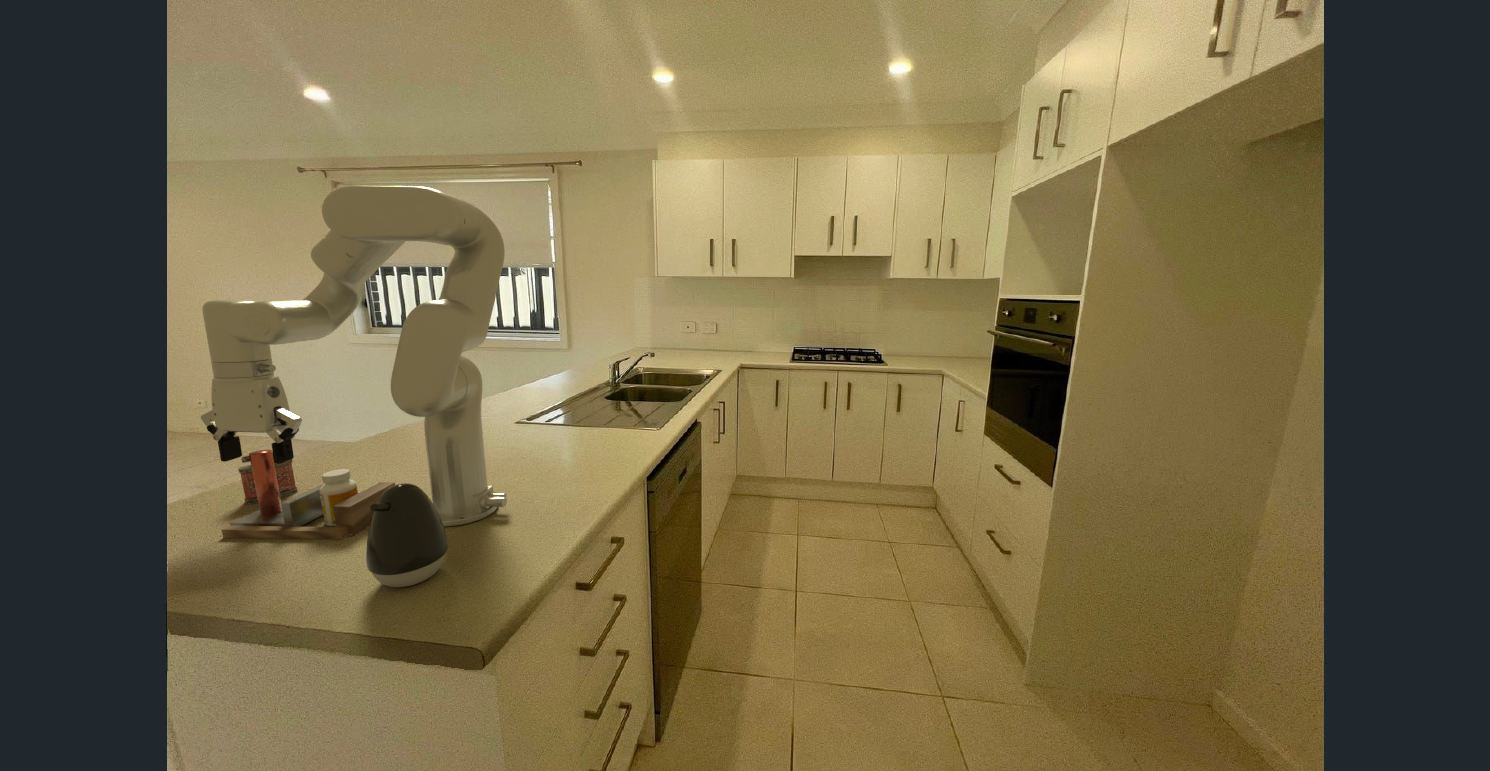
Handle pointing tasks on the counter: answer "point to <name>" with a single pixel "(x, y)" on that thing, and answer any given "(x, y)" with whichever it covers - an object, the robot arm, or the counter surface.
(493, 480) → the counter surface
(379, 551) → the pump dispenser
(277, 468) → the lighter
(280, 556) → the counter surface
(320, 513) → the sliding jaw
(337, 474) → the supplement bottle
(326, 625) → the counter surface
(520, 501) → the counter surface
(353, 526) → the bench clamp
